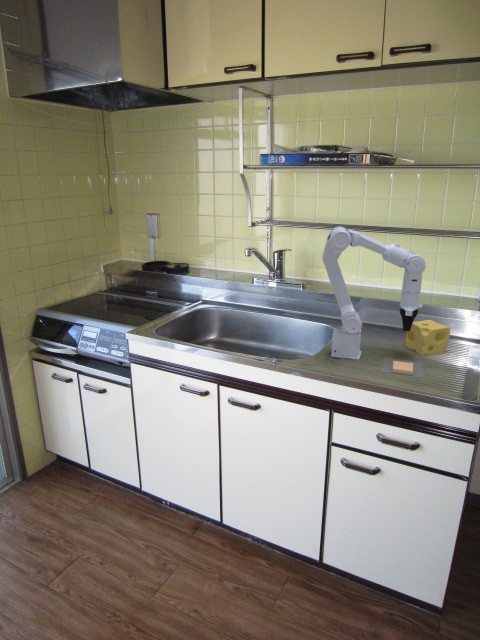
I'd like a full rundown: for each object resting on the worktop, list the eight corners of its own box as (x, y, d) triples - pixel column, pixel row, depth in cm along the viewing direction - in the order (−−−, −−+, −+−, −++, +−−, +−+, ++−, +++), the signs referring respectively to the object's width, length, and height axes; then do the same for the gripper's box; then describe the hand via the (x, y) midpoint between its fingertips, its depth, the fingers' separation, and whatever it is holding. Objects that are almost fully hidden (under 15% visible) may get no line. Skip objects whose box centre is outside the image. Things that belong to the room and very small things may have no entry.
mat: (381, 374, 144) (382, 372, 144) (384, 359, 156) (384, 357, 156) (422, 379, 140) (422, 377, 140) (422, 364, 152) (422, 362, 152)
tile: (393, 364, 150) (392, 372, 144) (393, 360, 150) (392, 368, 143) (412, 367, 148) (412, 375, 142) (413, 363, 148) (412, 371, 141)
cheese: (421, 357, 158) (425, 330, 155) (403, 346, 168) (406, 320, 164) (447, 354, 160) (451, 327, 157) (427, 344, 170) (431, 318, 167)
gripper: (424, 297, 142) (419, 338, 146) (423, 287, 155) (419, 325, 159) (400, 295, 145) (396, 336, 149) (401, 285, 158) (397, 323, 162)
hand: (406, 330), depth 154 cm, fingers closed
